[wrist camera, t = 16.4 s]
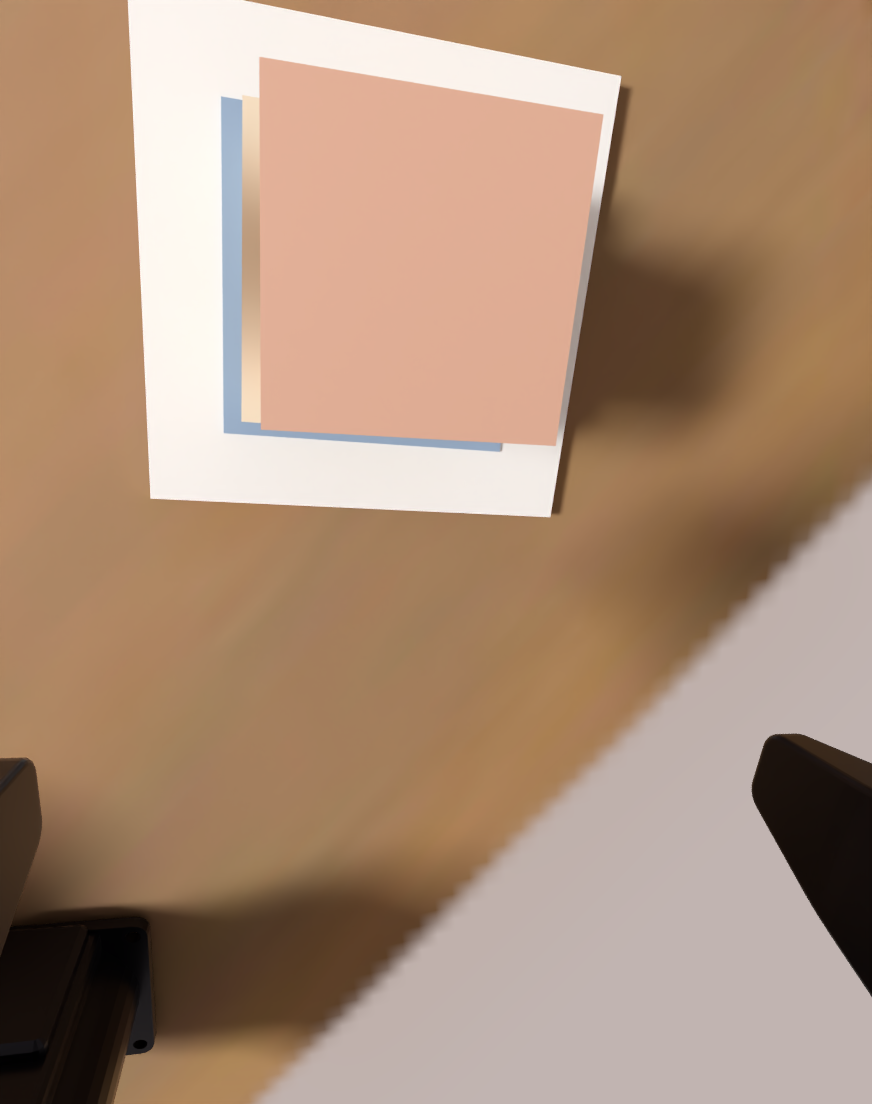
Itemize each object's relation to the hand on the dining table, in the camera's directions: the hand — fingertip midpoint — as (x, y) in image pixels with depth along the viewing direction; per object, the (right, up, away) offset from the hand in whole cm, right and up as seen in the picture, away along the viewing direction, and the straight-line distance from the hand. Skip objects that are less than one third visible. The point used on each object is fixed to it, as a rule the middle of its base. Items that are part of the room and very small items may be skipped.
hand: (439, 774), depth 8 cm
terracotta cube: (-1, +9, +7) cm, 11 cm away
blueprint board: (-2, +10, +10) cm, 14 cm away
